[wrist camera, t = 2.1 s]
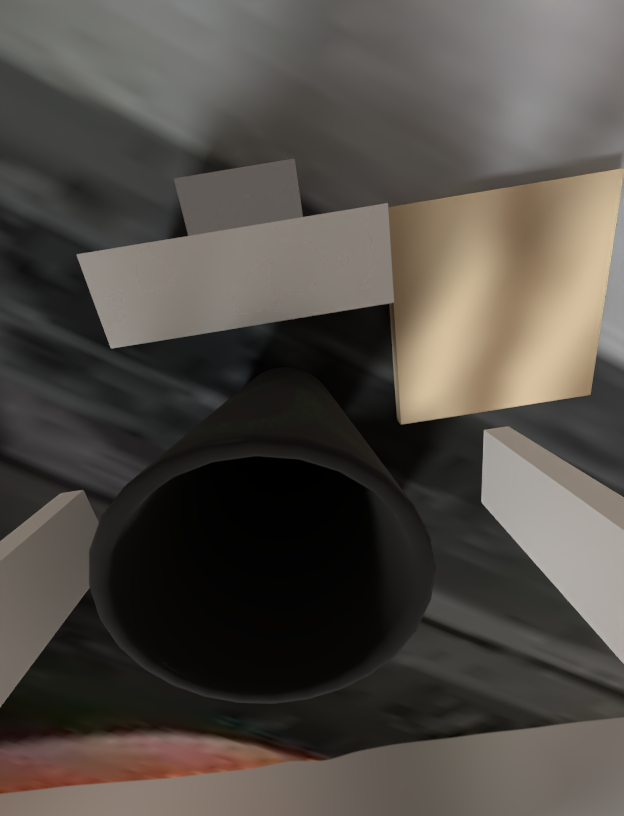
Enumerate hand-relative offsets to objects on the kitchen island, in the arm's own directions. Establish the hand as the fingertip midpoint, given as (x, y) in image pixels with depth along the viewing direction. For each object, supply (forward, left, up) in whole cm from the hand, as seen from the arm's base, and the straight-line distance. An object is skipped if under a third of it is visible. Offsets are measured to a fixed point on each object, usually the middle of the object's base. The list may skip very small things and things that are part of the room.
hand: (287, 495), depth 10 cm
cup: (0, 0, -9) cm, 9 cm away
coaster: (+12, +4, -8) cm, 15 cm away
